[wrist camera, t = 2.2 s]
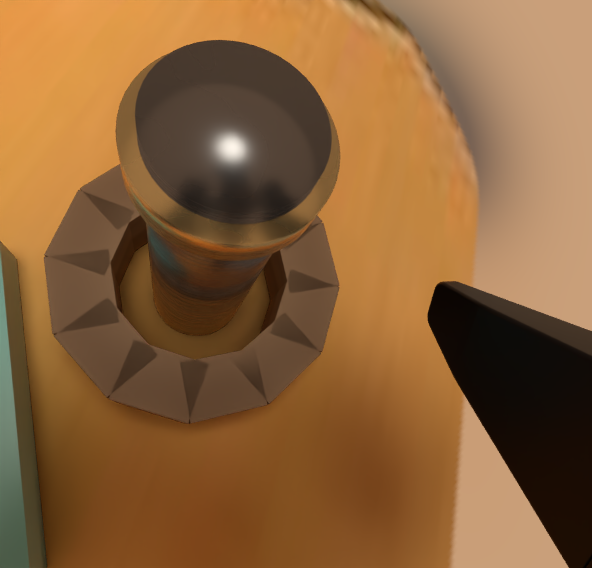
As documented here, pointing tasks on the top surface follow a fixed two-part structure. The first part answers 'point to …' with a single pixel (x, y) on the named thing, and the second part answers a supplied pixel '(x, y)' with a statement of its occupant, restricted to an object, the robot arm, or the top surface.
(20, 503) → the tray
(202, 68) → the steel pin
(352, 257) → the top surface
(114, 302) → the socket
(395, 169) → the top surface
